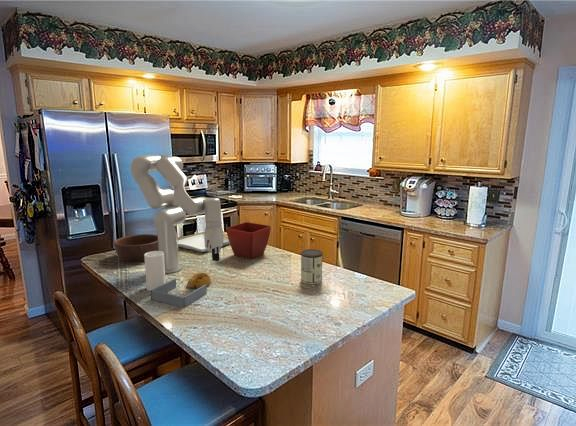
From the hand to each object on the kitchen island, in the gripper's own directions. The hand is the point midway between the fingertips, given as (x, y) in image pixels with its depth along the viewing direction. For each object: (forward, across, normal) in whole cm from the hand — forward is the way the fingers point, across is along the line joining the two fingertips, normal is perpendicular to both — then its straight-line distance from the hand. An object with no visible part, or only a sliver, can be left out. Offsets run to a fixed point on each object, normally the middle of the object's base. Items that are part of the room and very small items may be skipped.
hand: (216, 260), depth 179 cm
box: (+8, +26, -1) cm, 27 cm away
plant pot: (+8, -37, -3) cm, 38 cm away
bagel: (+9, +12, -2) cm, 15 cm away
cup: (+8, +23, -17) cm, 30 cm away
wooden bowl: (+7, -7, -58) cm, 59 cm away
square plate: (+8, -41, -39) cm, 57 cm away
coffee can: (+10, -15, +44) cm, 47 cm away
